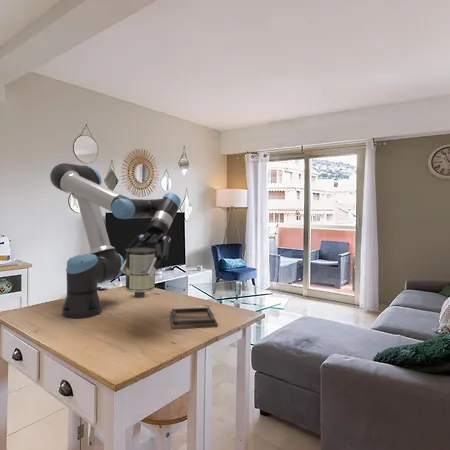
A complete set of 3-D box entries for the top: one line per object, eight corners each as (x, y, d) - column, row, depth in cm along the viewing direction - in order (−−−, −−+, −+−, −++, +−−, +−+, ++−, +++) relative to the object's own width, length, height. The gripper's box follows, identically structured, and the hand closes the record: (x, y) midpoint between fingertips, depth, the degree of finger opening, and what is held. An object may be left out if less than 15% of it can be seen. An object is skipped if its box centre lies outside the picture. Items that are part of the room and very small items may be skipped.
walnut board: (169, 314, 139) (169, 308, 139) (210, 312, 143) (210, 306, 143) (171, 329, 123) (171, 322, 123) (217, 326, 126) (217, 320, 126)
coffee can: (118, 288, 118) (119, 249, 117) (141, 283, 127) (142, 246, 126) (139, 294, 113) (139, 252, 112) (161, 288, 121) (162, 249, 120)
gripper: (189, 233, 130) (168, 282, 116) (138, 230, 137) (113, 275, 123) (183, 220, 124) (161, 270, 110) (130, 217, 131) (103, 263, 117)
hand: (136, 273), depth 117 cm, fingers closed on coffee can, 10 cm apart
